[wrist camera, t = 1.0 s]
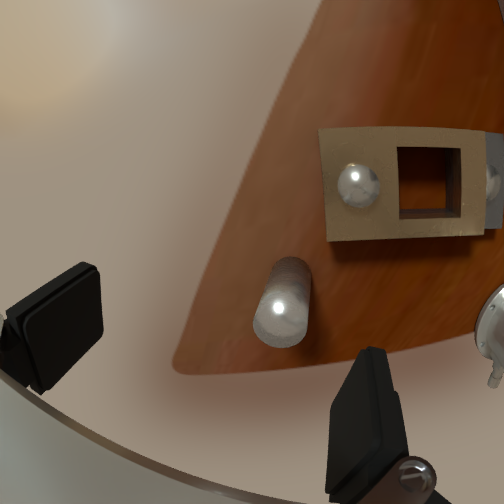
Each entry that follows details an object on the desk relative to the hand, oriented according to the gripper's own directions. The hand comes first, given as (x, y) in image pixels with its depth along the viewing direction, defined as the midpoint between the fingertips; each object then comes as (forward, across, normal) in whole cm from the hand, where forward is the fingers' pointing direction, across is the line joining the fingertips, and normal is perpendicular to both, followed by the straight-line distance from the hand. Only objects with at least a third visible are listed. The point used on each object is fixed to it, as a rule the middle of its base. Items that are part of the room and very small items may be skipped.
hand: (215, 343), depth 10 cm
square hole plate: (+23, -12, -6) cm, 27 cm away
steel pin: (+23, -2, +8) cm, 25 cm away
